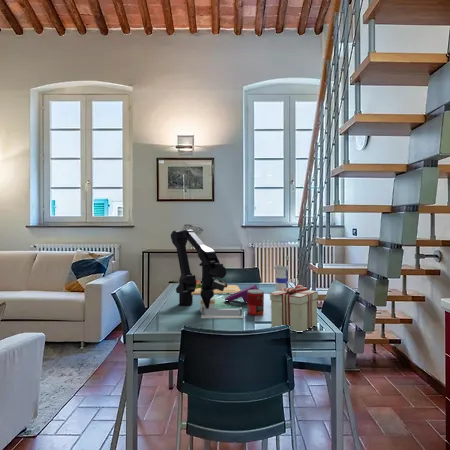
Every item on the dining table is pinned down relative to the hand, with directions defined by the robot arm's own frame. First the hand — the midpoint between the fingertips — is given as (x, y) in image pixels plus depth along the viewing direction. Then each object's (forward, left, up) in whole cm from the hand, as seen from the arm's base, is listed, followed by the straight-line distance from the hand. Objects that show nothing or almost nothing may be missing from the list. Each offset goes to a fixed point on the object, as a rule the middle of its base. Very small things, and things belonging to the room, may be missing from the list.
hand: (207, 307), depth 191 cm
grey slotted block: (0, 0, -2) cm, 2 cm away
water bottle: (+40, +23, -2) cm, 46 cm away
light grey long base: (+7, -10, -2) cm, 12 cm away
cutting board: (+1, +50, -2) cm, 50 cm away
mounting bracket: (+18, +18, -2) cm, 25 cm away
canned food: (+23, -6, -2) cm, 24 cm away
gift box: (+36, -27, -2) cm, 45 cm away
